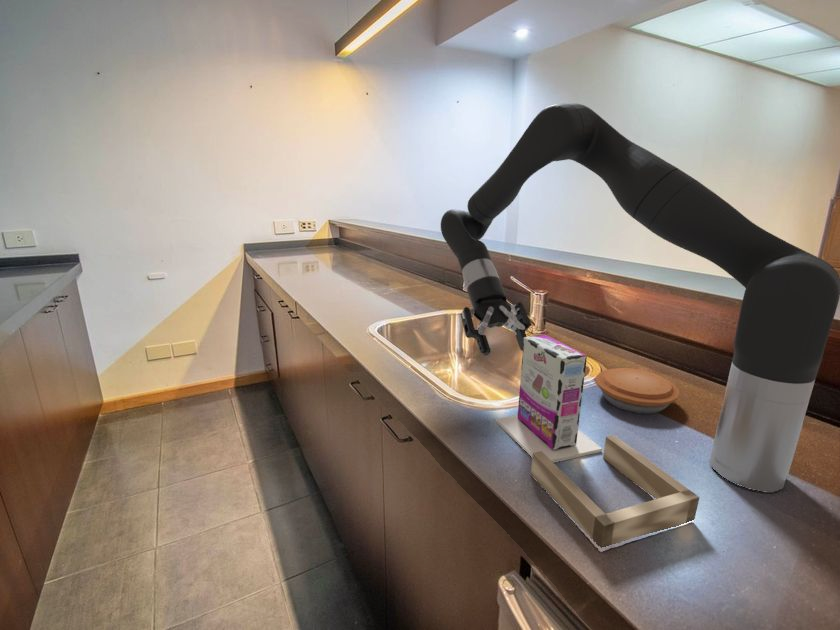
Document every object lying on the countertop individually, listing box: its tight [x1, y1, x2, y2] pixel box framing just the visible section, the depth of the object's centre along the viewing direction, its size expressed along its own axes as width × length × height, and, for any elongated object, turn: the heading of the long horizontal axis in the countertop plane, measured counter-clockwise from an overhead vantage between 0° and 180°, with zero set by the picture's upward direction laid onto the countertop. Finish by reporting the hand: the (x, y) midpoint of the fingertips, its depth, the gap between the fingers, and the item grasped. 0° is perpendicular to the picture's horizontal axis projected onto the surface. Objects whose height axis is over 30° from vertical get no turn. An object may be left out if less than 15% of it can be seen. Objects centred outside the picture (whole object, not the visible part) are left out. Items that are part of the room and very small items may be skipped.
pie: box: [594, 367, 681, 415], centre depth 86 cm, size 16×16×5 cm
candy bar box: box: [517, 334, 588, 450], centre depth 72 cm, size 11×5×16 cm, turn 20°
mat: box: [496, 414, 603, 464], centre depth 74 cm, size 12×14×1 cm
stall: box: [530, 434, 700, 548], centre depth 59 cm, size 15×15×4 cm
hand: (506, 351), depth 85 cm, fingers open, 8 cm apart
